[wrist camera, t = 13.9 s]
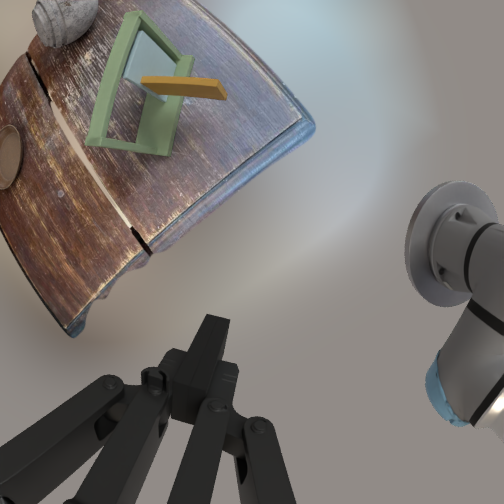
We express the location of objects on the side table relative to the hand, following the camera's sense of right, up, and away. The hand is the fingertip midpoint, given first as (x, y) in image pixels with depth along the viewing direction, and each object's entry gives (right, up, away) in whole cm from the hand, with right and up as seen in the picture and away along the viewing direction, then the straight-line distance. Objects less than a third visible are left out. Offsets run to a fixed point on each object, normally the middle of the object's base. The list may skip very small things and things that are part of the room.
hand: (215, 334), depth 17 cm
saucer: (-53, +27, +25) cm, 64 cm away
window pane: (-5, +30, +18) cm, 35 cm away
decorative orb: (-33, +52, +17) cm, 64 cm away
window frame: (-11, +29, +21) cm, 37 cm away
